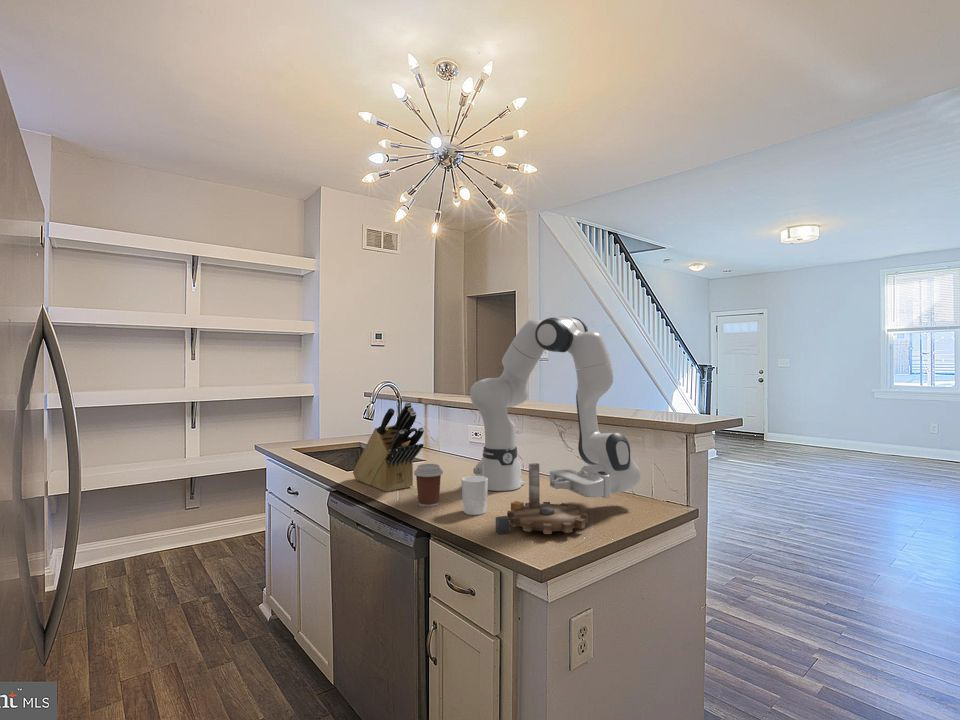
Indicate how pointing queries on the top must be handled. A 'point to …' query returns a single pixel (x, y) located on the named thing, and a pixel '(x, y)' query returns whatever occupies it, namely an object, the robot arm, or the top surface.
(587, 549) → the top surface
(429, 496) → the coffee cup
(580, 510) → the sprocket
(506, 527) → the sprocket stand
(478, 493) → the white cup
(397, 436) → the knife block
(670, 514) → the top surface
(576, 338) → the robot arm
